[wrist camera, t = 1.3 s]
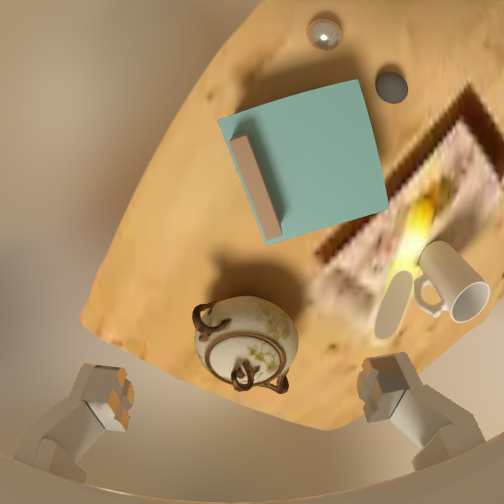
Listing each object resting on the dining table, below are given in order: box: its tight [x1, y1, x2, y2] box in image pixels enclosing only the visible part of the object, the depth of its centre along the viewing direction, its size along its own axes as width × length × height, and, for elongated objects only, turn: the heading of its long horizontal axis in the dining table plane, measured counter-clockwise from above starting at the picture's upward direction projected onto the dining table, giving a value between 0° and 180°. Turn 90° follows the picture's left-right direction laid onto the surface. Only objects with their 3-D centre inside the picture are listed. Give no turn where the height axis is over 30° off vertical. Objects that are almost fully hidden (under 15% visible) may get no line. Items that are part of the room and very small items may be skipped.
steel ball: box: [307, 19, 342, 50], centre depth 27 cm, size 4×4×4 cm
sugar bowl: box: [192, 295, 298, 394], centre depth 42 cm, size 20×15×15 cm
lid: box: [218, 79, 389, 246], centre depth 28 cm, size 14×14×4 cm
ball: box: [376, 72, 408, 104], centre depth 30 cm, size 4×4×4 cm
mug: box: [414, 240, 490, 323], centre depth 38 cm, size 10×7×12 cm, turn 120°
